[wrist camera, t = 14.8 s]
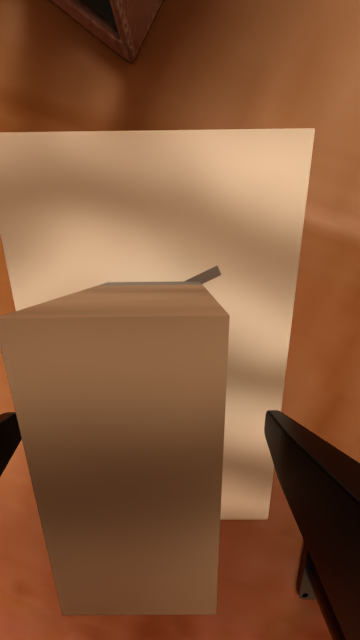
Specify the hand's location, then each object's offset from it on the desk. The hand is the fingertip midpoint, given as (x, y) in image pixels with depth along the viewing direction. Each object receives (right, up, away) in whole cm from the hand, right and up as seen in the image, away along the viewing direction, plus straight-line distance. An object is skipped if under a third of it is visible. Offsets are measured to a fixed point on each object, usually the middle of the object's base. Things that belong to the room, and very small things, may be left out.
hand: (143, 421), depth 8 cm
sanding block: (0, +1, +4) cm, 4 cm away
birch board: (0, +1, +5) cm, 6 cm away
